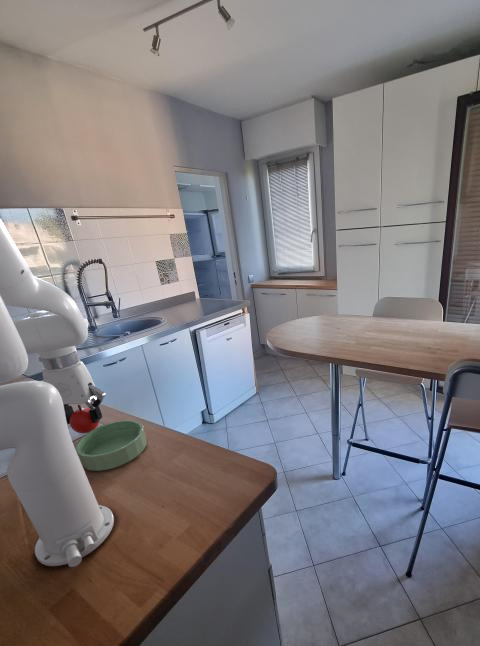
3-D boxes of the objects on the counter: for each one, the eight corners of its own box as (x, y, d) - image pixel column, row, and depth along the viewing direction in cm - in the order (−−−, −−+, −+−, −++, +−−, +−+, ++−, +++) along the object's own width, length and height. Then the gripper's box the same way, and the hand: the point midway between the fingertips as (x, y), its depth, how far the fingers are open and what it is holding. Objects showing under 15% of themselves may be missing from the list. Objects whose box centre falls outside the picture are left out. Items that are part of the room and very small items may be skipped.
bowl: (156, 451, 85) (151, 435, 83) (90, 482, 76) (83, 465, 74) (136, 428, 96) (131, 414, 94) (76, 454, 86) (69, 438, 84)
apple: (105, 430, 91) (96, 404, 88) (77, 441, 87) (66, 414, 84) (99, 421, 96) (89, 396, 92) (71, 431, 92) (61, 405, 88)
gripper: (16, 367, 80) (44, 429, 87) (85, 364, 79) (107, 427, 86) (39, 355, 87) (63, 414, 94) (103, 353, 86) (123, 412, 93)
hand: (84, 420), depth 90 cm, fingers closed on apple, 6 cm apart
